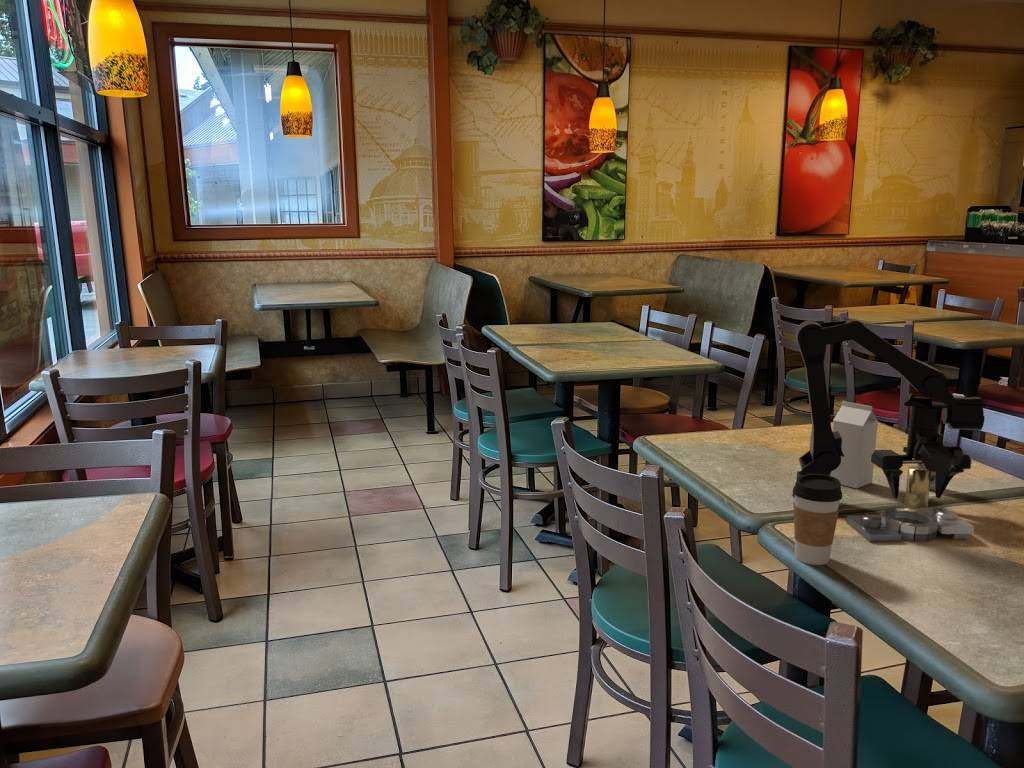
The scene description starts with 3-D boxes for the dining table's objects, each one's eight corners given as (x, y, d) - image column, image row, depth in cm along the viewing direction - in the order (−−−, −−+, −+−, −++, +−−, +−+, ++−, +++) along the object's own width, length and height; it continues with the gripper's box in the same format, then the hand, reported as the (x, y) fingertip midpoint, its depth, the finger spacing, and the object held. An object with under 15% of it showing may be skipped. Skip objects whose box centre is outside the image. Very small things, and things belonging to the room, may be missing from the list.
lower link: (869, 542, 153) (871, 527, 152) (846, 522, 162) (847, 508, 162) (946, 541, 153) (948, 526, 152) (919, 521, 163) (920, 507, 162)
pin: (910, 513, 168) (915, 472, 166) (900, 505, 172) (904, 466, 170) (931, 513, 168) (935, 472, 166) (920, 505, 172) (924, 465, 170)
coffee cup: (843, 557, 146) (850, 479, 143) (826, 572, 140) (833, 491, 136) (798, 545, 151) (804, 469, 148) (780, 559, 145) (785, 480, 142)
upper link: (895, 541, 153) (897, 523, 152) (870, 522, 163) (872, 504, 162) (972, 540, 153) (974, 522, 152) (943, 521, 163) (945, 503, 162)
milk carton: (857, 489, 182) (864, 408, 178) (828, 481, 188) (834, 403, 184) (872, 483, 187) (879, 404, 183) (843, 475, 192) (850, 398, 188)
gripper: (899, 437, 158) (892, 512, 161) (992, 436, 158) (982, 511, 162) (873, 423, 169) (866, 493, 172) (959, 422, 169) (951, 492, 173)
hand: (916, 498), depth 169 cm, fingers open, 9 cm apart
